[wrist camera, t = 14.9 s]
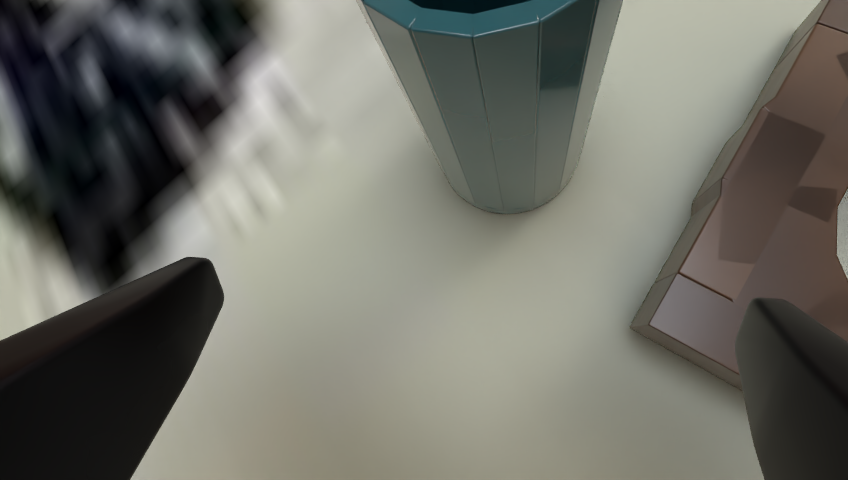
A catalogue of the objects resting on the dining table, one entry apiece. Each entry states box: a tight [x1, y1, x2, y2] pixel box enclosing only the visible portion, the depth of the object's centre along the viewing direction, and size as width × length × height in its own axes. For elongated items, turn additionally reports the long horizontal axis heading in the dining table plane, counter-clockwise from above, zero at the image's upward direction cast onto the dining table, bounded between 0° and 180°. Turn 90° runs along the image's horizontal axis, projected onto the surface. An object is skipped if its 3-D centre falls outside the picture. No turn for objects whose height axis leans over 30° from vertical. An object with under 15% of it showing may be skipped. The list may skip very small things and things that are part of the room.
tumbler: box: [356, 0, 623, 214], centre depth 16 cm, size 6×6×13 cm
